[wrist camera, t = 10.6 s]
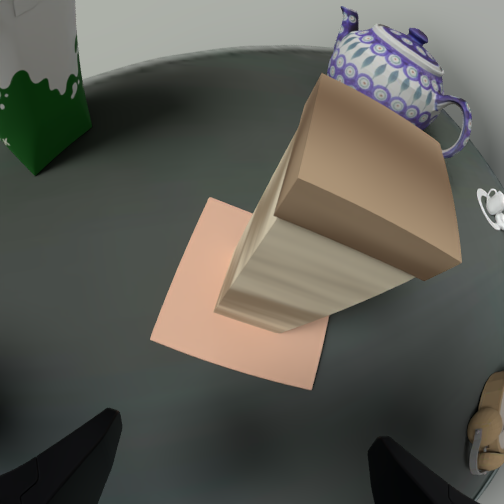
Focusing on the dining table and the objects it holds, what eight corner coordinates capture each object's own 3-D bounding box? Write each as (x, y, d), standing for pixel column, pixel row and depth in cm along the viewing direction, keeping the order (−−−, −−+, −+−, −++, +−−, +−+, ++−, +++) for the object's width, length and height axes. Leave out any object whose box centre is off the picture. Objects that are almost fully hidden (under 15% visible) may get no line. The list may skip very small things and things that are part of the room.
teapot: (443, 180, 33) (512, 118, 19) (381, 195, 27) (478, 100, 14) (351, 65, 39) (389, 2, 26) (277, 56, 34) (313, -28, 20)
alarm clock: (527, 408, 19) (498, 493, 11) (500, 415, 23) (464, 494, 15) (516, 348, 22) (491, 434, 14) (486, 359, 26) (449, 439, 18)
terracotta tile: (307, 389, 18) (311, 390, 17) (150, 340, 17) (149, 339, 16) (336, 253, 23) (340, 250, 22) (208, 201, 22) (209, 197, 21)
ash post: (280, 336, 18) (461, 262, 6) (210, 313, 18) (298, 177, 5) (295, 272, 20) (439, 143, 8) (232, 248, 20) (321, 72, 7)
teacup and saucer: (504, 230, 36) (519, 220, 32) (493, 240, 33) (511, 229, 29) (483, 188, 38) (497, 177, 34) (469, 192, 35) (486, 179, 32)
